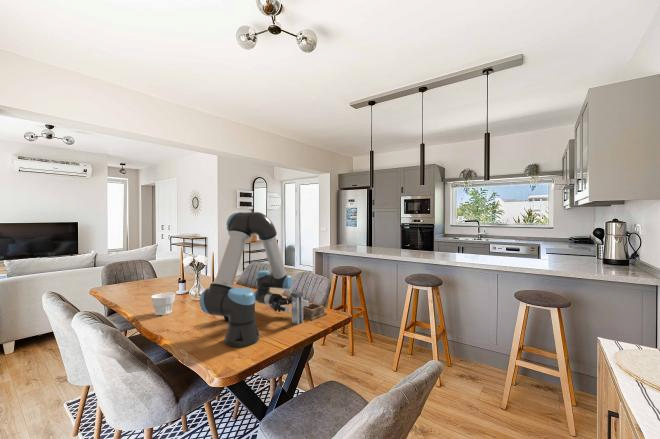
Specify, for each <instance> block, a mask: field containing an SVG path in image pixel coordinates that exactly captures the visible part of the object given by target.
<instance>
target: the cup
mask: <svg viewBox="0 0 660 439" xmlns="http://www.w3.org/2000/svg"><path fill="white" fill-rule="evenodd" d="M175 297H176V293H175V292H171V291H170V292H168V291H167V292H161V293H156V294H152V295H151V297H150V298H151V303H152V306H153V309H154V313H155V315H156V314H157V315H164V314H169V313H171V312H172V311H173V304H174V302H175ZM172 313H173V312H172ZM172 313H171V314H172ZM169 315H170V314H169Z"/></svg>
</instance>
